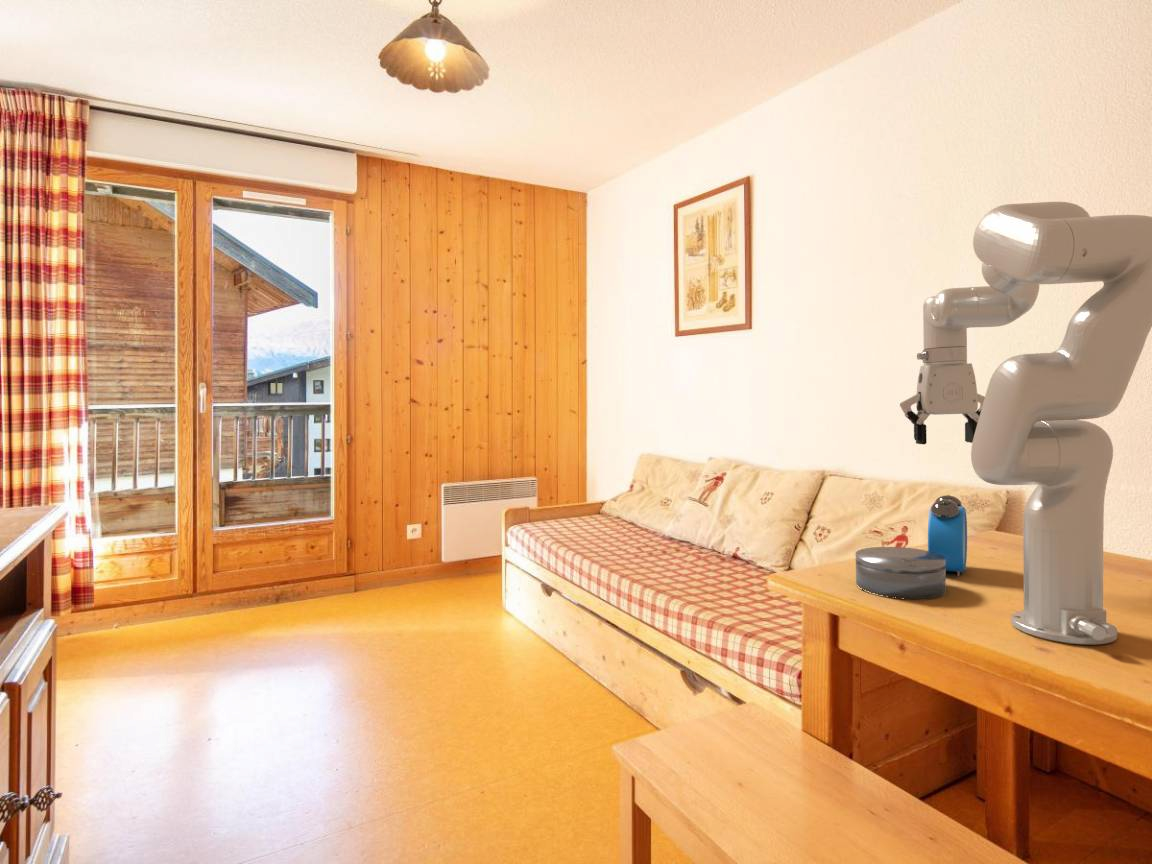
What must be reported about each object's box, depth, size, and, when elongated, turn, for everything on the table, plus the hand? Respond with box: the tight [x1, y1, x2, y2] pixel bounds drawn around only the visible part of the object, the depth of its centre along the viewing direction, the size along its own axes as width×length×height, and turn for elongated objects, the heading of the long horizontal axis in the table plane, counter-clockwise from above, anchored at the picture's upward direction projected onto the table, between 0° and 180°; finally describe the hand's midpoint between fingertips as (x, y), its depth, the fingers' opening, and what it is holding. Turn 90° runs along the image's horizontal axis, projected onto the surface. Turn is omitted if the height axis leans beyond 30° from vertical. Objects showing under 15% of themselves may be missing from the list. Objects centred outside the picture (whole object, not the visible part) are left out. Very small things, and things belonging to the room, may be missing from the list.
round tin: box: [855, 546, 947, 601], centre depth 120 cm, size 15×15×6 cm
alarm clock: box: [927, 494, 968, 577], centre depth 130 cm, size 13×6×15 cm, turn 145°
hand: (945, 443), depth 129 cm, fingers open, 9 cm apart
